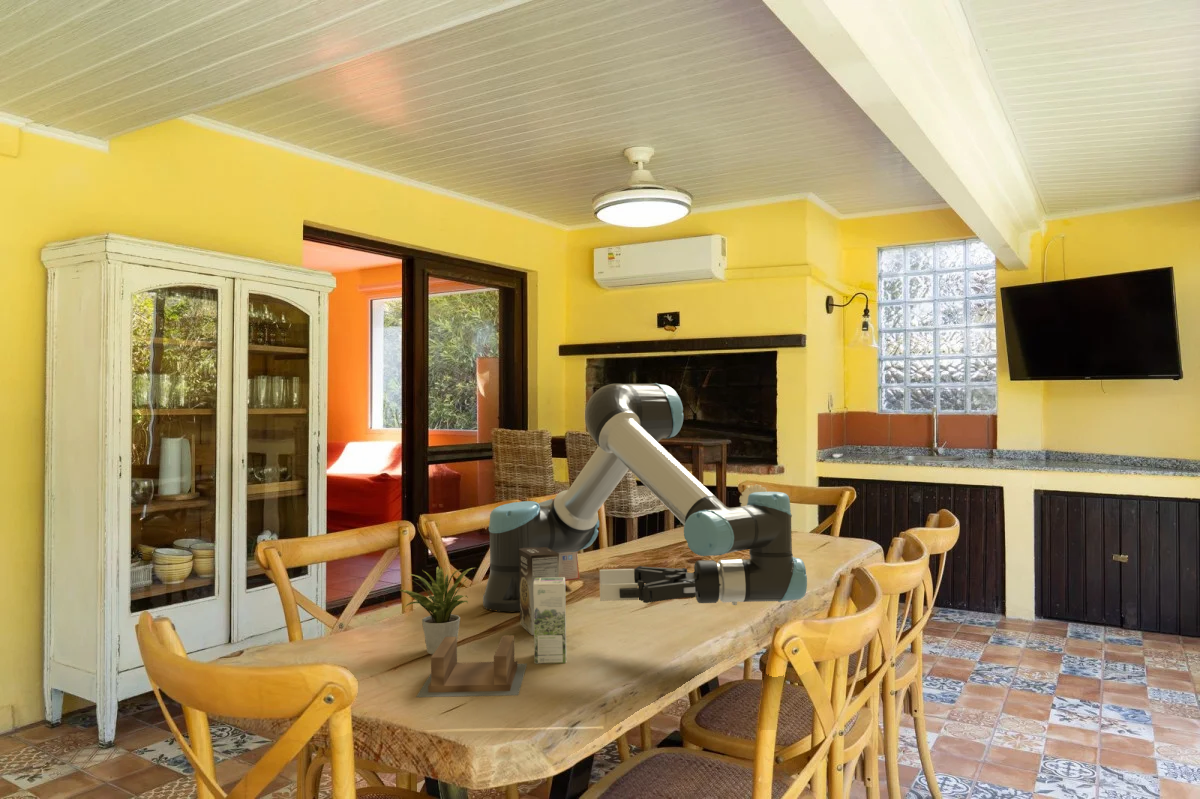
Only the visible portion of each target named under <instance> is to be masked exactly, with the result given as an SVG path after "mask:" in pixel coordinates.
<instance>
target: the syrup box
mask: <svg viewBox="0 0 1200 799" xmlns="http://www.w3.org/2000/svg"><path fill="white" fill-rule="evenodd" d="M533 596H534V635H533V643H534V644H533V646H534V648H533V651H534V657H533V659H534V664H535V665H545V664H566V663H567V631H566V630H567V618H566V615H567V614H566V613H567V612H566V581H565V577H555V578H535V579H534V585H533Z"/></svg>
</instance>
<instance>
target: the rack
mask: <svg viewBox="0 0 1200 799" xmlns="http://www.w3.org/2000/svg"><path fill="white" fill-rule="evenodd" d="M457 646H458V637H445V638H444V639H443V641H442V642H441V644H440V645H439V647H438V648H437V649H436V651H435V652H434V654H431V657H430V674H431V682H430V684H429V686H428V692H474V691H510V689H511V686H512V683H513V680H514V677H515V673H516V670H517V664H518V661H515V635H502V637H501V639H500V641H499V643H498V646H497V647H496V651H494V652H495V653H494V654H493V661H480V662H479V661H475V662H473V661H472V662H470V661H469V662H466V661H465V662H458V647H457Z"/></svg>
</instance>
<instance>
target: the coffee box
mask: <svg viewBox="0 0 1200 799" xmlns="http://www.w3.org/2000/svg"><path fill="white" fill-rule="evenodd" d="M555 577H560V570H559V553H557V552H555V551H553V550H551V549H549V548H547V547H540V548H538V547H533V548H520V549H519V582H520V612H519V615H520V616H519V617H520V619H519V620H520V621H519V623H520V626H521V625H522V626H521V627H523V629H524V630H526V632H528V633H529V634H530V635H531V636H534V596H533V585H534V579H535V578H555Z"/></svg>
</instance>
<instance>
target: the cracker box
mask: <svg viewBox="0 0 1200 799" xmlns="http://www.w3.org/2000/svg"><path fill="white" fill-rule="evenodd" d="M554 499H555V497H553V498H550V499H546V500H544V501H541V502H537V503H538V504H539V506H548V505H550V504H551V503H552V501H553V500H554ZM578 559H579V556H578V551H576V552H564V553H559V570H560V577H565V582H568V581H575V580H580V569H579V560H578Z"/></svg>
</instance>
